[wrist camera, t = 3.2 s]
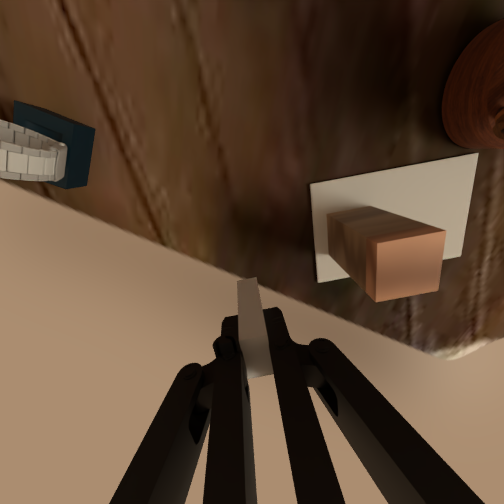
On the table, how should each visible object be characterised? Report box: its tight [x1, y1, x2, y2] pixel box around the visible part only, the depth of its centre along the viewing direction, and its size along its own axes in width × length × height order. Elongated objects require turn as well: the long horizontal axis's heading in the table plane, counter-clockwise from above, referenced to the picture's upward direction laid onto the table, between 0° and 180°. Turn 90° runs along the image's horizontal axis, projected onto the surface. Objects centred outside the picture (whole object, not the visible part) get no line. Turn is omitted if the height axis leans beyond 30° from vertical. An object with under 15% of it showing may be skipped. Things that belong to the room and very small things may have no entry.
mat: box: [310, 153, 478, 283], centre depth 27 cm, size 12×18×1 cm, turn 100°
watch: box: [0, 100, 95, 189], centre depth 17 cm, size 6×8×11 cm
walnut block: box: [326, 206, 446, 302], centre depth 22 cm, size 5×5×10 cm
